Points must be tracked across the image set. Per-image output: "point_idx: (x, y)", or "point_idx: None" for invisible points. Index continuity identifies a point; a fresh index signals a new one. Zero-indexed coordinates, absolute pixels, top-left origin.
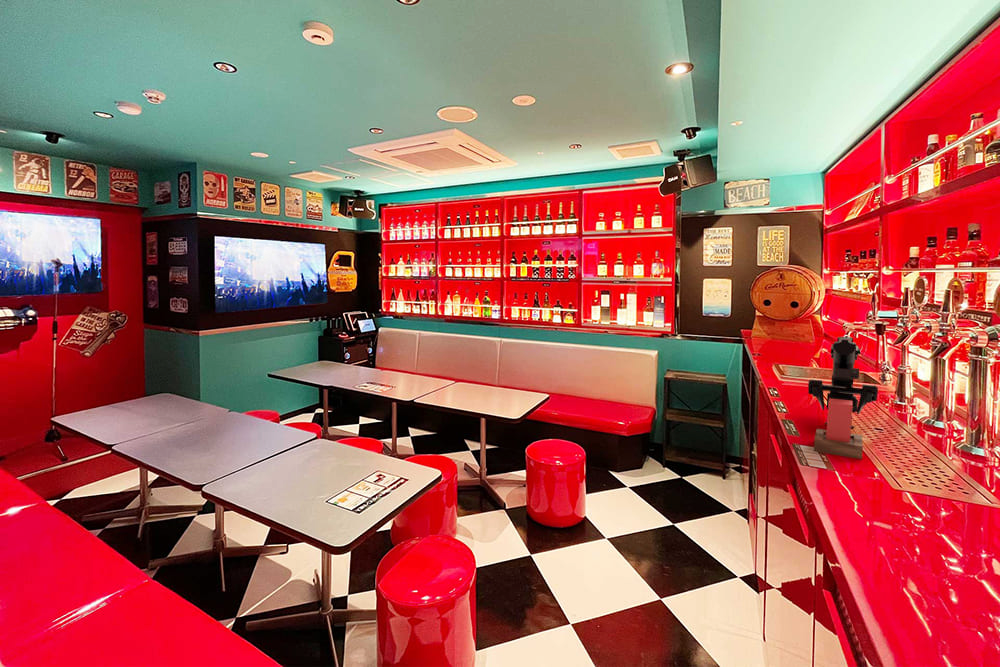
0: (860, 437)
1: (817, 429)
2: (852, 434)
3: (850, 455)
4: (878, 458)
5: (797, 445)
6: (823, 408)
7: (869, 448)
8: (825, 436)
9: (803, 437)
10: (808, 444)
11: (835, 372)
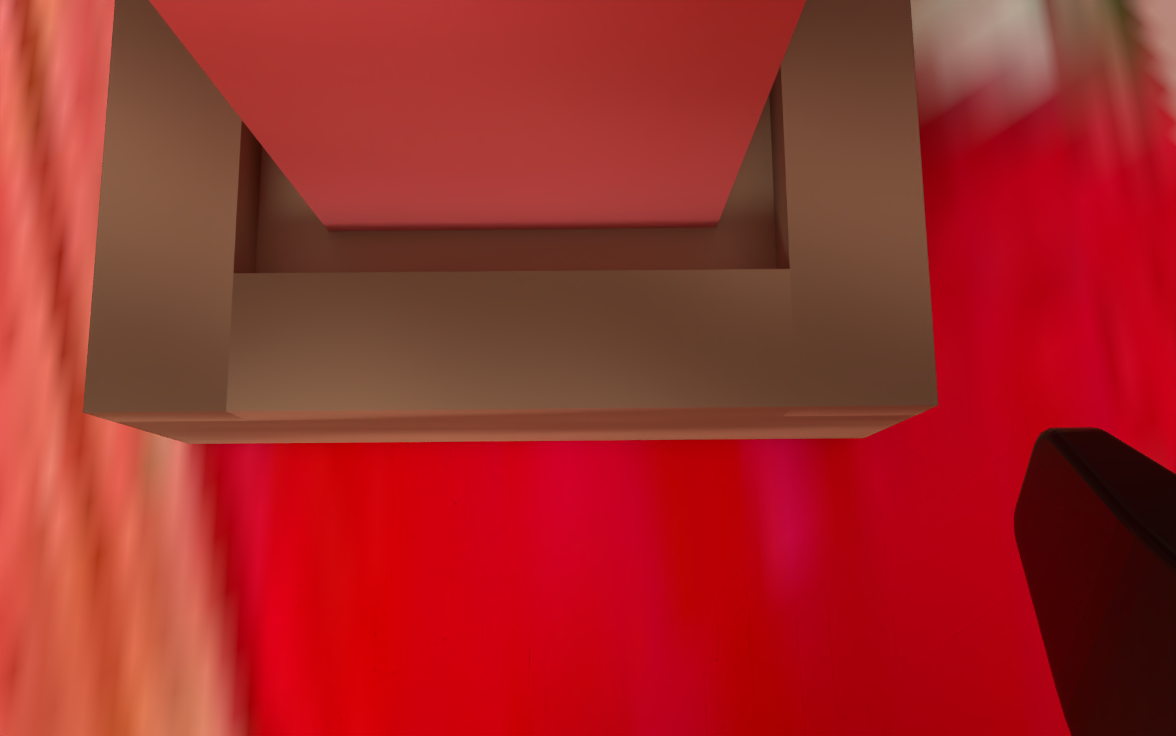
0: (126, 221)
1: (917, 355)
2: (258, 365)
3: None
4: (5, 45)
5: (1075, 17)
6: (1058, 431)
7: (69, 505)
8: None
9: None
10: (940, 165)
11: None
